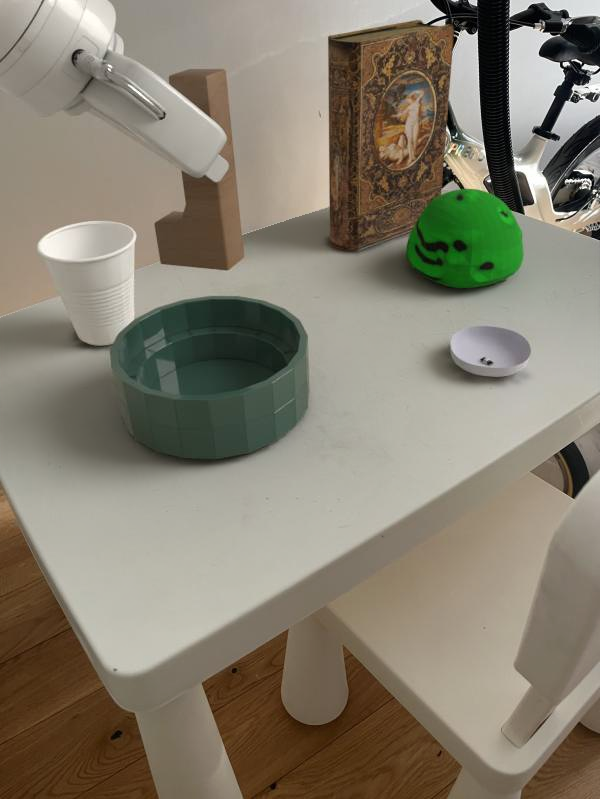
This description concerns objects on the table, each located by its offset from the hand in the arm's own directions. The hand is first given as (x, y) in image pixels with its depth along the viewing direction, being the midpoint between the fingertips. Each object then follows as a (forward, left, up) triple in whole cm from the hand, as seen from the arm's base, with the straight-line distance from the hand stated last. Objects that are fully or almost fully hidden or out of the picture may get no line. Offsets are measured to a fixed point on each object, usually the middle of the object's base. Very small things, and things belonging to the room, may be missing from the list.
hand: (203, 162), depth 58 cm
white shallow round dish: (+10, +24, -23) cm, 35 cm away
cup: (-18, -6, -22) cm, 29 cm away
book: (-22, +35, -23) cm, 47 cm away
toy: (-7, +36, -23) cm, 43 cm away
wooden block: (-1, -1, -9) cm, 9 cm away
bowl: (+1, -2, -22) cm, 22 cm away
